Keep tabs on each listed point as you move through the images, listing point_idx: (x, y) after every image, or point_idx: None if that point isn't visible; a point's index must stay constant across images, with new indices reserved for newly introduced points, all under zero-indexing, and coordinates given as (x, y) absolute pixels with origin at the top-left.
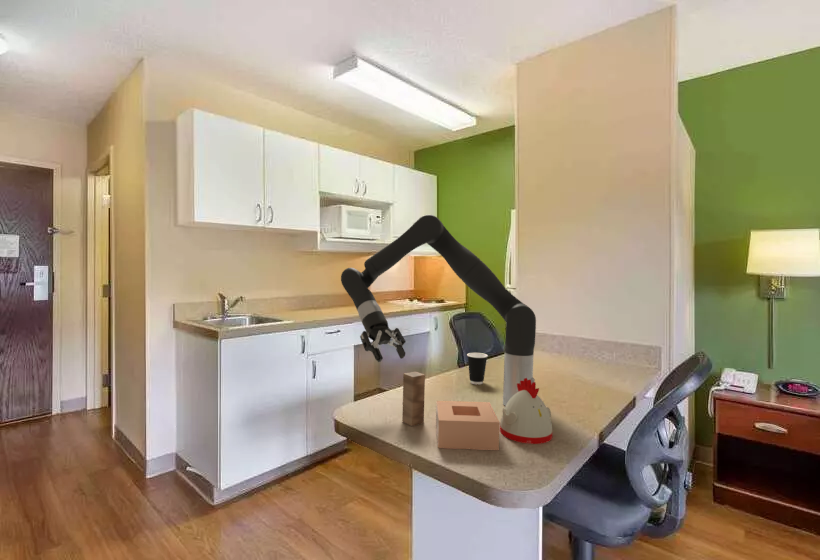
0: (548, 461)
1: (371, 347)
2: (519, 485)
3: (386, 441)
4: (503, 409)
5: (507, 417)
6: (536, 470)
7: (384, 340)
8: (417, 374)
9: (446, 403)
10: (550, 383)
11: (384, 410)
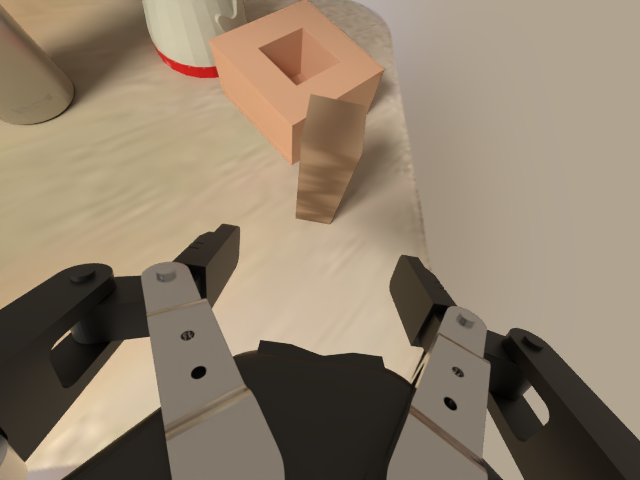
0: (284, 4)
1: (493, 336)
2: (365, 14)
3: (416, 184)
4: (221, 18)
5: (238, 19)
6: (319, 9)
7: (338, 356)
8: (328, 112)
9: (292, 99)
10: None
11: (309, 308)
